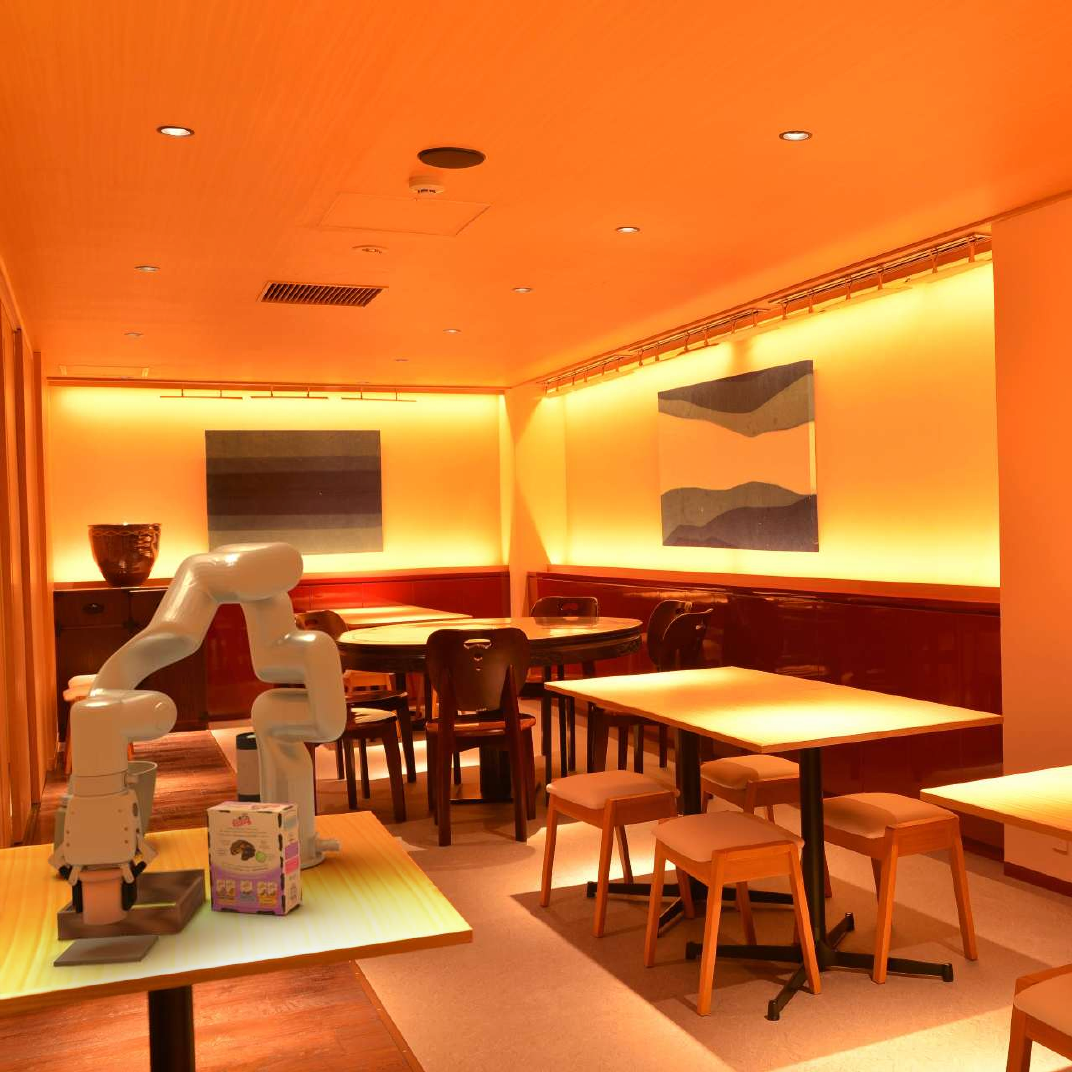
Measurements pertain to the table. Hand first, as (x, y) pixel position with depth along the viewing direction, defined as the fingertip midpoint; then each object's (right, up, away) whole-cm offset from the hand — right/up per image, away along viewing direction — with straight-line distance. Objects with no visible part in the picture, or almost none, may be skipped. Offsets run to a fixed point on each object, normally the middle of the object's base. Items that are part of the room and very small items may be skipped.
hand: (105, 908), depth 162 cm
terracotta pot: (0, -1, 0) cm, 1 cm away
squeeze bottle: (-20, -8, +41) cm, 46 cm away
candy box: (+18, -6, +17) cm, 25 cm away
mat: (0, -6, 0) cm, 6 cm away
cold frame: (-1, -6, +15) cm, 16 cm away
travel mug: (+6, -6, +64) cm, 65 cm away
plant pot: (-18, -7, +55) cm, 58 cm away
